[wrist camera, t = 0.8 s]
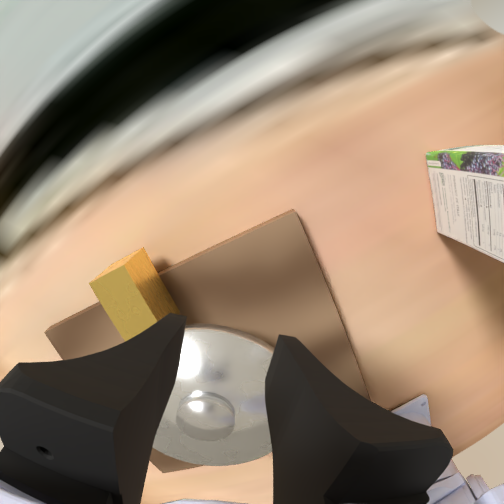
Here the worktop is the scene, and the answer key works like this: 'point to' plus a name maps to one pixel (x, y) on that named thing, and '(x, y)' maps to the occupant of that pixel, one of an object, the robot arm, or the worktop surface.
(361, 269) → the worktop surface
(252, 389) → the small silver pan
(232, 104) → the worktop surface
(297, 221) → the post board
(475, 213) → the syrup box
